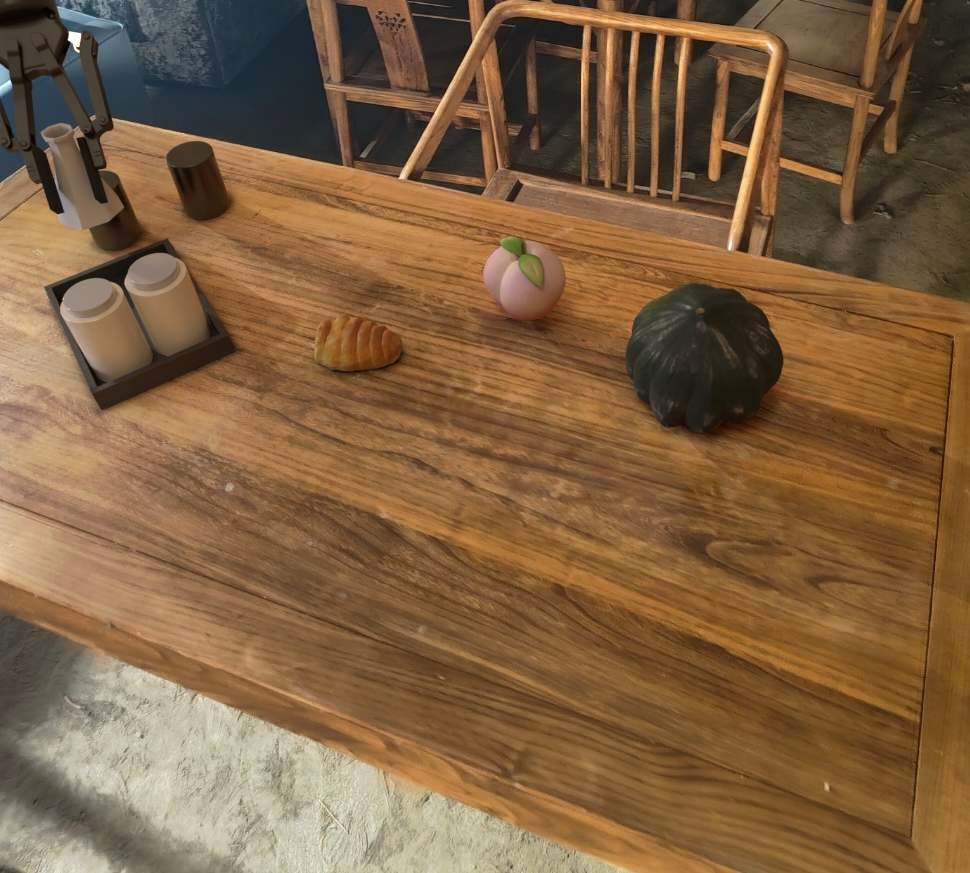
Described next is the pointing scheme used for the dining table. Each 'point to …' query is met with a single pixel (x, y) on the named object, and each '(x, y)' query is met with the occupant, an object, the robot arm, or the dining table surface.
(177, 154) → the dark brown cylinder
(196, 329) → the white shaker
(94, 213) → the flask
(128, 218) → the dark brown cylinder
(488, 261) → the decorative fruit
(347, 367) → the pastry
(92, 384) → the black tray
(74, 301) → the cylinder
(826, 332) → the dining table surface
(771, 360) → the squash
